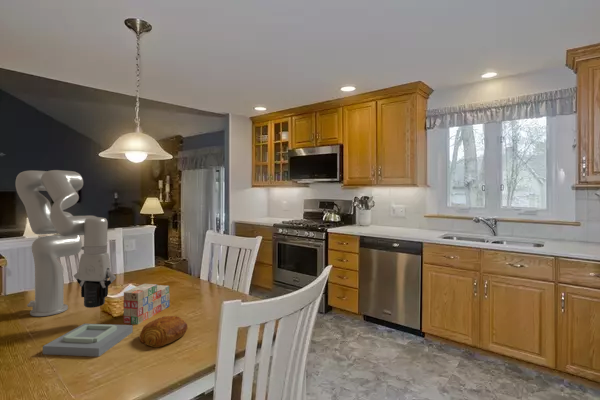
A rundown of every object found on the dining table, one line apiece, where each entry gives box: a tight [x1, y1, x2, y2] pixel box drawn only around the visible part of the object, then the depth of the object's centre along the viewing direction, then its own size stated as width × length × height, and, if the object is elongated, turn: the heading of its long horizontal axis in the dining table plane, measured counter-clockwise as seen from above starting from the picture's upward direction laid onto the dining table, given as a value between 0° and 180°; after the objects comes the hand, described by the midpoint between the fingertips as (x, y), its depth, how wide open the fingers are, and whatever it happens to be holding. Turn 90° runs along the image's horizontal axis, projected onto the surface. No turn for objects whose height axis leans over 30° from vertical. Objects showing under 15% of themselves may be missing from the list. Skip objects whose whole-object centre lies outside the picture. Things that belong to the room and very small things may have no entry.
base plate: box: [42, 323, 134, 357], centre depth 110 cm, size 18×18×4 cm
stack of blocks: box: [122, 283, 171, 325], centre depth 136 cm, size 21×6×12 cm, turn 170°
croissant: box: [139, 315, 189, 348], centre depth 114 cm, size 14×16×8 cm
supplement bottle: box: [83, 281, 106, 309], centre depth 126 cm, size 7×7×12 cm
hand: (94, 296), depth 126 cm, fingers closed on supplement bottle, 6 cm apart
